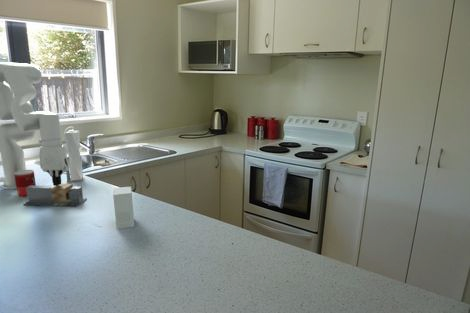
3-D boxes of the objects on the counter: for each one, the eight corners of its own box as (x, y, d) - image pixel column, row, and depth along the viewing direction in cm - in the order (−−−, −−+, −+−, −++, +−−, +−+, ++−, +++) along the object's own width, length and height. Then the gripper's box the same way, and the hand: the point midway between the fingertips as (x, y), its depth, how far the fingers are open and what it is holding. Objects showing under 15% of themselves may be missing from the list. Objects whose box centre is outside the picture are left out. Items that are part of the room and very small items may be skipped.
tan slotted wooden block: (52, 200, 147) (50, 188, 146) (61, 195, 153) (59, 183, 152) (65, 201, 146) (64, 188, 145) (74, 195, 152) (72, 184, 151)
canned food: (31, 197, 157) (27, 174, 155) (13, 197, 157) (9, 174, 155) (40, 191, 165) (37, 169, 162) (24, 191, 165) (20, 169, 162)
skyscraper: (69, 178, 186) (63, 126, 180) (85, 176, 189) (79, 125, 182) (66, 182, 179) (60, 128, 172) (83, 181, 181) (77, 128, 175)
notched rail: (23, 205, 147) (21, 189, 146) (37, 198, 156) (35, 183, 154) (76, 207, 145) (74, 191, 143) (87, 199, 154) (85, 184, 152)
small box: (116, 220, 131) (113, 187, 128) (134, 218, 133) (131, 186, 130) (116, 229, 123) (112, 194, 121) (134, 226, 125) (131, 192, 122)
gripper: (29, 144, 141) (35, 187, 145) (63, 144, 140) (69, 188, 144) (40, 141, 149) (46, 181, 153) (73, 141, 147) (78, 182, 151)
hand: (57, 184), depth 148 cm, fingers closed
